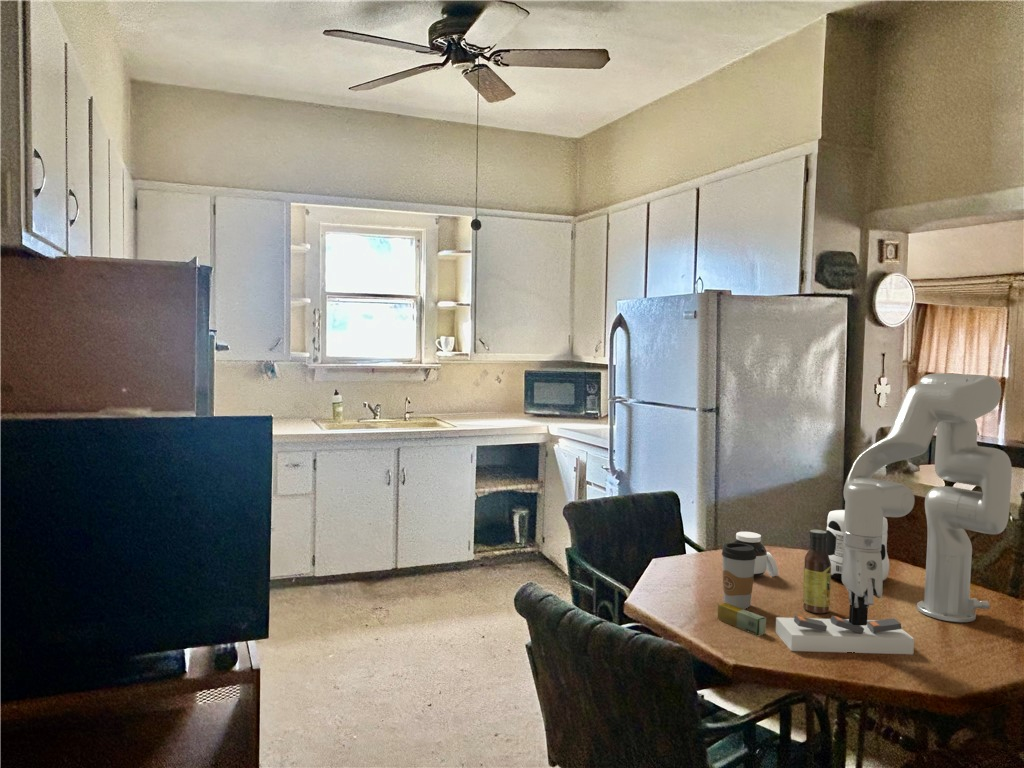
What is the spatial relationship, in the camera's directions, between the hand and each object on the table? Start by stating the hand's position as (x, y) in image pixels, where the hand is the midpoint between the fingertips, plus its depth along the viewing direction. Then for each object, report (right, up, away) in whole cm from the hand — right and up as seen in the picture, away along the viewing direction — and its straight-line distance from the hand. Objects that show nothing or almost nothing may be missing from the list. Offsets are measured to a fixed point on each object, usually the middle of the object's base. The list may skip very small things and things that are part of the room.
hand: (857, 623), depth 158 cm
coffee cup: (-19, -4, +25) cm, 31 cm away
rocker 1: (-10, 0, +1) cm, 10 cm away
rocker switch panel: (-2, -5, +3) cm, 6 cm away
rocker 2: (+6, -1, 0) cm, 6 cm away
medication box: (-22, -5, +11) cm, 25 cm away
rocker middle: (-2, 0, 0) cm, 2 cm away
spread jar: (-6, -3, +50) cm, 50 cm away
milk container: (+22, -3, +48) cm, 53 cm away
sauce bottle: (0, -4, +23) cm, 23 cm away
